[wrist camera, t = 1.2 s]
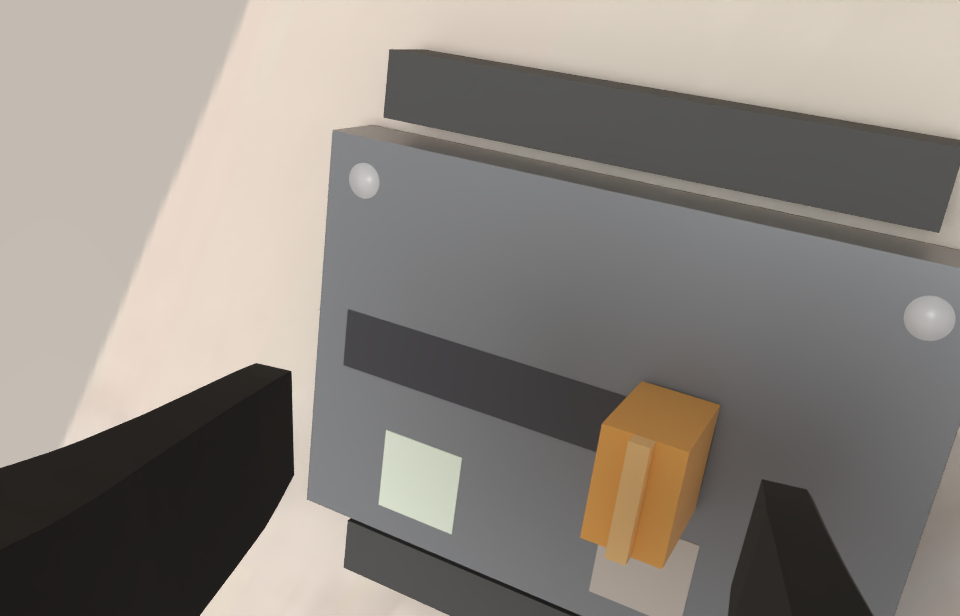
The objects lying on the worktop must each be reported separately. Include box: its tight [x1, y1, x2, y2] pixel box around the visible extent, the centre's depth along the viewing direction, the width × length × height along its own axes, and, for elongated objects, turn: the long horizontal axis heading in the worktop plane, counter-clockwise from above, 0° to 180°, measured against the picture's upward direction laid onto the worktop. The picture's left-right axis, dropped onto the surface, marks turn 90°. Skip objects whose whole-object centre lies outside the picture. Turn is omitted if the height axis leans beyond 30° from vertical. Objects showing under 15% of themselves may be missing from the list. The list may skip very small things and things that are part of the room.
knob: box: [580, 381, 720, 569], centre depth 21 cm, size 3×2×3 cm, turn 171°
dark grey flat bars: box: [344, 49, 960, 616], centre depth 25 cm, size 16×14×2 cm
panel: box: [307, 125, 960, 616], centre depth 25 cm, size 12×17×2 cm
